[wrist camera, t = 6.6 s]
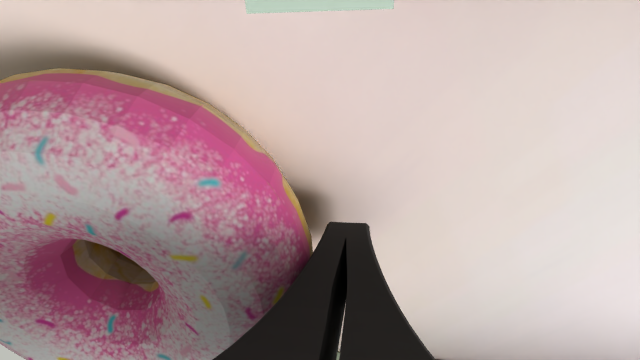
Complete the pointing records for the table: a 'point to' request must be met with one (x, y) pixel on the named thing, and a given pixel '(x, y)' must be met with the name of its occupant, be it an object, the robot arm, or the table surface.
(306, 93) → the table surface
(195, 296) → the donut
